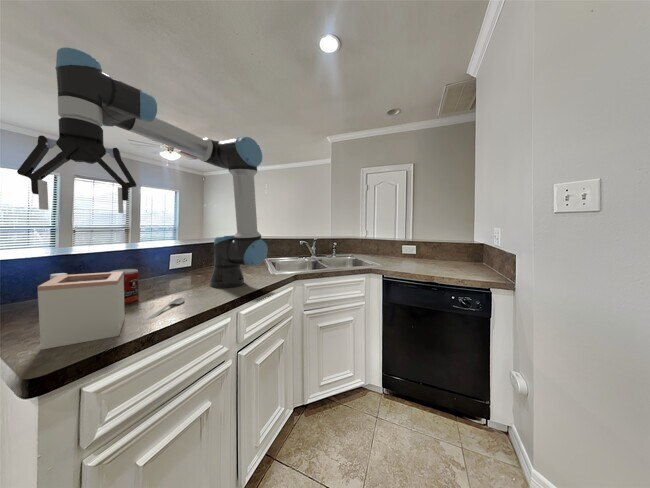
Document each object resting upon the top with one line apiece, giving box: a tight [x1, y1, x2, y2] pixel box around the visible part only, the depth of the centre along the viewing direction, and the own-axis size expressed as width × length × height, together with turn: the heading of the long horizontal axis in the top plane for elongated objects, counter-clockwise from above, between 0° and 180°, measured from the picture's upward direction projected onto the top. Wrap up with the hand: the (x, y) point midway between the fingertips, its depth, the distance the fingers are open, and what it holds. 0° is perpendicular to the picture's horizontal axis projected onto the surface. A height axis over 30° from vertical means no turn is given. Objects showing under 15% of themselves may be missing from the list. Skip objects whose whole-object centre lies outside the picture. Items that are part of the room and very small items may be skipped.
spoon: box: [146, 297, 185, 321], centre depth 78 cm, size 4×21×2 cm, turn 3°
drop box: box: [37, 271, 126, 350], centre depth 61 cm, size 13×13×14 cm
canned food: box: [110, 268, 140, 305], centre depth 85 cm, size 8×8×11 cm
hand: (85, 211), depth 59 cm, fingers open, 13 cm apart
